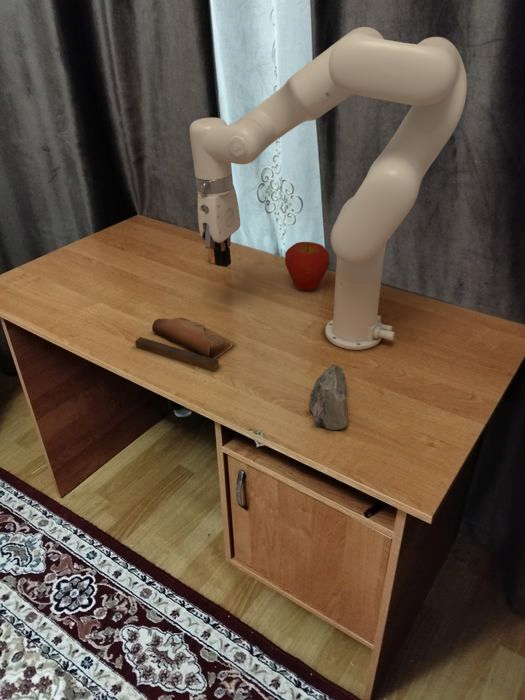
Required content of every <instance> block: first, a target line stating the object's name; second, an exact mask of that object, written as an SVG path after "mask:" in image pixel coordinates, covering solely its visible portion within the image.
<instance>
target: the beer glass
mask: <svg viewBox="0 0 525 700" xmlns="http://www.w3.org/2000/svg"><path fill="white" fill-rule="evenodd" d="M207 250H208V251H207V252H208V258H209V262H210V263H211V264H215V257H214V250H213V249H208V248H207Z"/></svg>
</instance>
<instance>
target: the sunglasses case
mask: <svg viewBox="0 0 525 700" xmlns="http://www.w3.org/2000/svg"><path fill="white" fill-rule="evenodd" d="M151 331H152V332H153V333H155V334H157V335H159V336H162V337H164V338H167V339H168V340H172V341H174V342H176V343H178V344H179V345H182V346H184V347H186V348H188V349H190V350H192V351H193V352H195V353H197V354H199V355H202V356H206V357H209V358H213V359H216V360H218V358H220V357H221V356H223V355H224V354H225V353H227V352H228V351H229V350H230V349H232V347H234V343H233V342H232V340H230V339H228V338H227V337H225V336H223V335H221V334H219V333H217V332H215V331H213V330H211V329H210V328H207V327H206V326H205V325H203V324H202V323H199V322H197V321H194V320H193V321H192V320H190V319H187V318H185V317H176V318H175V317H174V318H157V319H155V320H154V321H153V323H152V325H151Z"/></svg>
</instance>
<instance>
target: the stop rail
mask: <svg viewBox="0 0 525 700" xmlns="http://www.w3.org/2000/svg"><path fill="white" fill-rule="evenodd" d="M134 343H135V347H136V349H139V350H142V351H146V352H150V353H152V354H155V355H159V356H163V357H166V358H169V359H172V360H176V361H179V362H181V363H185V364H189V365H190V366H191V365H192V366H195V367H198V368H200V369H201V368H202V369H204V370H208V371H211V372H214V373H215V372H216V371H217V370H218V369H219V368H220V365H219V364H220V363H219V360H218V359H213V358H209V357H206V356H203V355H201V354H199V353H197V352H193V351H189V350H186V349H182V348H179V347H176V346H172V345H168V344H166V343H162V342H158V341H155V340H152V339H149V338H145V337H142V336H139V337H138V338H137V339H136V340H134Z"/></svg>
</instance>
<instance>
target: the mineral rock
mask: <svg viewBox="0 0 525 700" xmlns="http://www.w3.org/2000/svg"><path fill="white" fill-rule="evenodd" d="M347 387H348V384H347V378H346V374H345V371H344V369H343V367H342V366H341V365H337V364H331V365H330V366H329V367H328V368H327V369H325V370H324V371H323V372H322V373H321V375H320V376H318V378H316V381H315V383H314V385H313V387H312V388H313V389H312V391H311V392H310V395H309V396H310V397H309V401H308V407H309V409H310V411H311V414H312V417H313V423H315V426H317V427H319V428H325V429H327V430H330V431H338V430H343V429H345V428H346V427H347V426H348V424H349V423H348V404H347V399H346V395H347Z"/></svg>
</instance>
